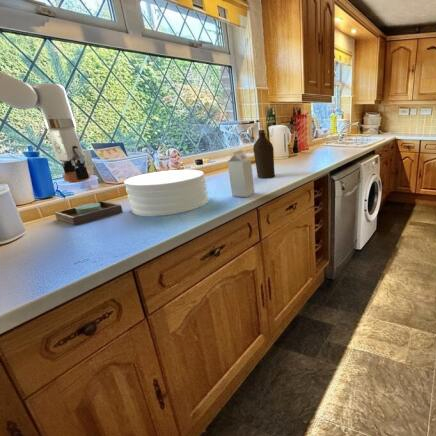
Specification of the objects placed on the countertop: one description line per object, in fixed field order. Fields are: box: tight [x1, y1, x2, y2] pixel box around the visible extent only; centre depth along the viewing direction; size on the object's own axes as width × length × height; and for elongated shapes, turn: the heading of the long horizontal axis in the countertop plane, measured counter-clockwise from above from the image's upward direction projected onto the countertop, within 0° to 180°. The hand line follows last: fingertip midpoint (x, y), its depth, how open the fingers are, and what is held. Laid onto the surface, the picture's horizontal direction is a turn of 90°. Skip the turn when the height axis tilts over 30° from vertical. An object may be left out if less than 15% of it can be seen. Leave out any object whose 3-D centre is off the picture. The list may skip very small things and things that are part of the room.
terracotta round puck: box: [61, 170, 92, 184], centre depth 104 cm, size 7×7×3 cm
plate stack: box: [123, 169, 209, 217], centre depth 120 cm, size 28×28×12 cm
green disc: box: [74, 202, 102, 215], centre depth 111 cm, size 7×7×3 cm
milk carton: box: [227, 149, 255, 198], centre depth 129 cm, size 7×7×19 cm
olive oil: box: [252, 129, 276, 179], centre depth 163 cm, size 11×11×25 cm
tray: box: [54, 200, 124, 226], centre depth 111 cm, size 16×14×3 cm
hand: (77, 177), depth 104 cm, fingers closed on terracotta round puck, 7 cm apart
